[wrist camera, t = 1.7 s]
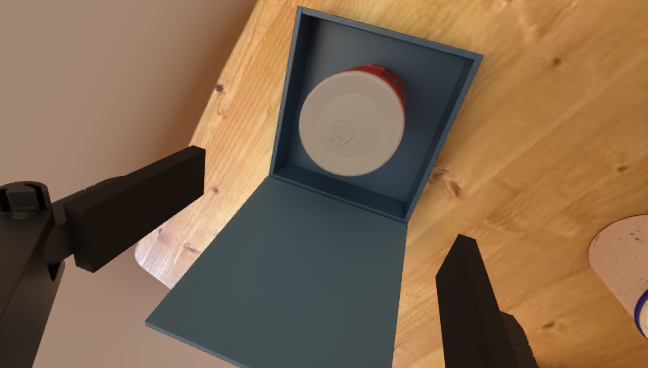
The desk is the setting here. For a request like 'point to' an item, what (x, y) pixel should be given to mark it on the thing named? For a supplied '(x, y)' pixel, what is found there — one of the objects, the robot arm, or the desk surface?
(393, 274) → the lunchbox lid
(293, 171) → the box
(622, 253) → the teacup with lid
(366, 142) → the canned food
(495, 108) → the desk surface
